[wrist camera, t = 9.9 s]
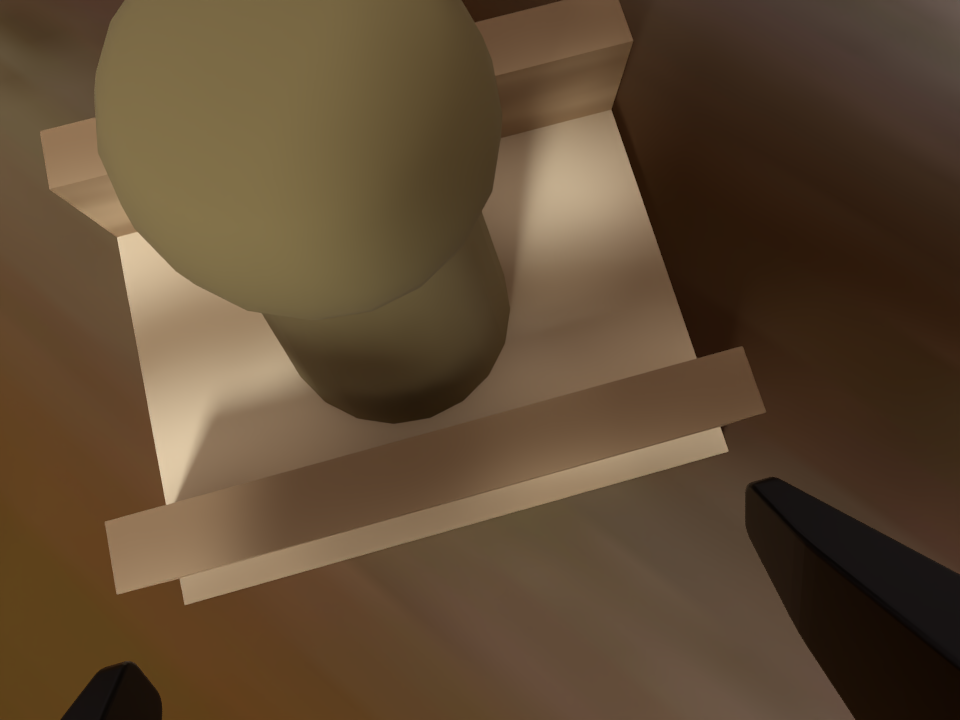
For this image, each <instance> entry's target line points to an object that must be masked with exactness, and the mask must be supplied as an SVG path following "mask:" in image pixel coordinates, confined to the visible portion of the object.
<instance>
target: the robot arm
mask: <svg viewBox="0 0 960 720" xmlns="http://www.w3.org/2000/svg"><path fill="white" fill-rule="evenodd" d="M745 524H746V529H747V533H748V535H749V538H750V540H751V542H752V544H753V546H754V548H755V550H756V552H757V553H758V555H759V557H760V559H761V561H762V563H763V565H764V567H765V569H766V571H767V573H768V575H769V577H770V579H771V581H772V583H773V585H774V587H775V588H776V590H777V592H778V594H779V596H780V598H781V600H782V602H783V604H784V606H785V608H786V610H787V612H788V614H789V616H790V618H791V619H792V621H793V623H794V625H795V627H796V629H797V630H798V632H799V634H800V635H801V637H802V639H803V640H804V642H805V644H806V645H807V647H808V648H809V650H810V651H811V653H812V654H813V656H814V657H815V659H816V660H817V662H818V663H819V665H820V666H821V668H822V670H823V671H824V673H825V674H826V676H827V677H828V679H829V680H830V682H831V683H832V685H833V686H834V688H835V689H836V691H837V692H838V694H839V695H840V697H841V698H842V700H843V701H844V703H845V704H846V706H847V707H848V709H849V710H850V712H851V714H852V715H853V717H854V718H855V720H960V574H958V573H956V572H954V571H952V570H950V569H948V568H946V567H945V566H943V565H941V564H939V563H937V562H935V561H933V560H931V559H930V558H928V557H926V556H924V555H922V554H920V553H918V552H916V551H914V550H913V549H911V548H909V547H907V546H905V545H903V544H901V543H899V542H898V541H896V540H894V539H892V538H890V537H888V536H886V535H884V534H882V533H881V532H879V531H877V530H875V529H873V528H871V527H869V526H867V525H866V524H864V523H862V522H860V521H858V520H856V519H854V518H852V517H850V516H849V515H847V514H845V513H843V512H841V511H839V510H837V509H835V508H834V507H832V506H830V505H828V504H826V503H824V502H822V501H820V500H818V499H817V498H815V497H813V496H811V495H809V494H807V493H805V492H803V491H802V490H800V489H798V488H796V487H794V486H792V485H790V484H788V483H787V482H785V481H783V480H781V479H779V478H775V477H769V478H765V479H762V480H758V481H755V482H751V483H749V484H748V485H747V487H746V492H745ZM61 720H162V702H161V698H160V695H159V693H158V691H157V690H156V689H155V687H154V686H153V685H152V684H151V682H150V681H149V680H148V678H147V677H146V676H145V675H144V673H143V672H142V671H141V670H140V668H139V667H138V666H137V665H136V664H135V663H133V662H131V661H125V662H122V663H118V664H115V665H111V666H108V667H105V668H103V669H101V670H100V671H98V672H97V673H96V675H95V676H94V677H93V678H92V680H91V681H90V682H89V683H88V685H87V686H86V687H85V689H84V690H83V691H82V692H81V694H80V695H79V696H78V698H77V699H76V700H75V701H74V703H73V704H72V705H71V707H70V708H69V709H68V711H67V712H66V713H65V714H64V716H63V717H62V718H61Z"/></svg>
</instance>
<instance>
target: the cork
mask: <svg viewBox="0 0 960 720" xmlns="http://www.w3.org/2000/svg"><path fill="white" fill-rule="evenodd" d="M94 101H95V117H96V133H97V149H98V154H99V156H100V158H101V161H102V163H103V165H104V167H105V170H106V172H107V174H108V176H109V179H110V181H111V183H112V186H113V188H114V190H115V192H116V195H117V197H118V199H119V201H120V204H121V206H122V207H123V209H124V211H125V213H126V215H127V216H128V218H129V220H130V222H131V224H132V226H133V227H134V229H135V230H136V231H137V232H138V233H139V234H140V235H141V236H142V237H143V238H144V239H145V240H146V241H147V242H148V243H149V244H150V245H151V246H152V247H153V248H154V249H155V250H156V252H157V253H158V254H159V255H160V256H161V257H162V258H163V259H164V260H165V261H166V262H167V263H168V264H169V265H170V266H171V267H172V268H173V269H174V270H175V271H176V272H177V273H179V274H180V275H182V276H183V277H185V278H186V279H188V280H189V281H190V282H192V283H193V284H195V285H197V286H199V287H201V288H203V289H205V290H207V291H209V292H211V293H213V294H215V295H217V296H219V297H221V298H223V299H225V300H227V301H229V302H231V303H233V304H235V305H237V306H239V307H241V308H243V309H245V310H247V311H252V312H258V313H262V315H263V316H264V318H265V320H266V321H267V323H268V325H269V326H270V328H271V330H272V331H273V333H274V334H275V336H276V338H277V339H278V341H279V343H280V344H281V346H282V347H283V349H284V351H285V352H286V354H287V356H288V357H289V359H290V361H291V362H292V364H293V365H294V367H295V369H296V370H297V372H298V374H299V375H300V377H301V378H302V379H303V380H304V381H305V382H306V383H307V384H308V385H309V386H310V387H311V388H312V389H313V390H314V391H315V392H316V393H317V394H318V395H319V396H320V397H321V398H322V399H323V400H324V401H325V402H326V403H328V404H330V405H332V406H334V407H336V408H338V409H340V410H342V411H344V412H346V413H348V414H350V415H352V416H354V417H355V418H358V419H364V420H371V421H377V422H384V423H391V424H397V423H403V422H409V421H415V420H421V419H427V418H431V417H433V416H435V415H437V414H439V413H441V412H443V411H445V410H447V409H449V408H451V407H453V406H454V405H456V404H458V403H460V402H462V401H464V400H465V399H466V398H467V397H468V396H469V395H470V394H471V393H472V392H473V391H474V390H475V389H476V388H477V387H478V386H479V385H480V384H481V383H482V382H483V381H484V380H485V379H486V378H487V377H488V376H489V374H490V372H491V370H492V368H493V366H494V364H495V362H496V360H497V358H498V356H499V354H500V352H501V350H502V348H503V346H504V344H505V341H506V334H507V327H508V320H509V314H510V305H509V299H508V294H507V288H506V282H505V277H504V273H503V270H502V267H501V265H500V262H499V259H498V256H497V253H496V250H495V248H494V245H493V242H492V239H491V236H490V233H489V230H488V228H487V225H486V222H485V219H484V216H483V213H482V210H483V208H484V206H485V204H486V202H487V200H488V199H489V197H490V195H491V193H492V190H493V184H494V178H495V171H496V165H497V159H498V152H499V146H500V140H501V129H502V109H501V104H500V99H499V94H498V88H497V83H496V78H495V72H494V67H493V62H492V58H491V56H490V53H489V51H488V48H487V46H486V43H485V41H484V38H483V36H482V34H481V33H480V31H479V29H478V27H477V26H476V24H475V22H474V21H473V19H472V17H471V15H470V14H469V12H468V10H467V9H466V7H465V5H464V4H463V2H462V0H125V1H124V2H123V4H122V5H121V7H120V8H119V10H118V11H117V13H116V14H115V15H114V17H113V18H112V20H111V22H110V25H109V28H108V32H107V35H106V39H105V42H104V46H103V49H102V53H101V56H100V60H99V63H98V67H97V70H96V78H95V91H94Z"/></svg>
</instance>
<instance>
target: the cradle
mask: <svg viewBox="0 0 960 720" xmlns="http://www.w3.org/2000/svg"><path fill="white" fill-rule="evenodd" d="M475 24H476V26H477V27H478V29H479V31H480V33H481V34H482V36H483V38H484V41H485V43H486V46H487V48H488V51H489V53H490V56H491V58H492V62H493V67H494V72H495V78H496V83H497V88H498V94H499V99H500V104H501V109H502V129H501V140H500V146H499V152H498V159H497V165H496V171H495V178H494V184H493V190H492V193H491V195H490V197H489V199H488V200H487V202H486V204H485V206H484V208H483V210H482V213H483V216H484V219H485V222H486V225H487V228H488V230H489V233H490V236H491V239H492V242H493V245H494V248H495V250H496V253H497V256H498V259H499V262H500V265H501V267H502V270H503V273H504V277H505V282H506V288H507V294H508V299H509V305H510V314H509V320H508V327H507V334H506V341H505V344H504V346H503V348H502V350H501V352H500V354H499V356H498V358H497V360H496V362H495V364H494V366H493V368H492V370H491V372H490V374H489V376H488V377H487V378H486V379H485V380H484V381H483V382H482V383H481V384H480V385H479V386H478V387H477V388H476V389H475V390H474V391H473V392H472V393H471V394H470V395H469V396H468V397H467V398H466V399H465V400H464V401H462V402H460V403H458V404H456V405H454V406H453V407H451V408H449V409H447V410H445V411H443V412H441V413H439V414H437V415H435V416H433V417H431V418H427V419H421V420H415V421H409V422H403V423H397V424H391V423H384V422H377V421H371V420H364V419H358V418H355V417H354V416H352V415H350V414H348V413H346V412H344V411H342V410H340V409H338V408H336V407H334V406H332V405H330V404H328V403H326V402H325V401H324V400H323V399H322V398H321V397H320V396H319V395H318V394H317V393H316V392H315V391H314V390H313V389H312V388H311V387H310V386H309V385H308V384H307V383H306V382H305V381H304V380H303V379H302V378H301V377H300V375H299V374H298V372H297V370H296V369H295V367H294V365H293V364H292V362H291V361H290V359H289V357H288V356H287V354H286V352H285V351H284V349H283V347H282V346H281V344H280V343H279V341H278V339H277V338H276V336H275V334H274V333H273V331H272V330H271V328H270V326H269V325H268V323H267V321H266V320H265V318H264V316H263V315H262V313H258V312H252V311H247V310H245V309H243V308H241V307H239V306H237V305H235V304H233V303H231V302H229V301H227V300H225V299H223V298H221V297H219V296H217V295H215V294H213V293H211V292H209V291H207V290H205V289H203V288H201V287H199V286H197V285H195V284H193V283H192V282H190V281H189V280H188V279H186V278H185V277H183V276H182V275H180V274H179V273H177V272H176V271H175V270H174V269H173V268H172V267H171V266H170V265H169V264H168V263H167V262H166V261H165V260H164V259H163V258H162V257H161V256H160V255H159V254H158V253H157V252H156V250H155V249H154V248H153V247H152V246H151V245H150V244H149V243H148V242H147V241H146V240H145V239H144V238H143V237H142V236H141V235H140V234H139V233H138V232H137V231H136V230H135V229H134V227H133V226H132V224H131V222H130V220H129V218H128V216H127V215H126V213H125V211H124V209H123V207H122V206H121V204H120V201H119V199H118V197H117V195H116V192H115V190H114V188H113V186H112V183H111V181H110V179H109V176H108V174H107V172H106V170H105V167H104V165H103V163H102V161H101V158H100V156H99V154H98V149H97V133H96V117H95V118H91V119H87V120H83V121H79V122H75V123H71V124H67V125H63V126H59V127H55V128H51V129H47V130H43V131H40V135H41V141H42V147H43V153H44V159H45V165H46V171H47V177H48V183H49V189H50V190H51V191H53V192H54V193H56V194H57V195H58V196H60V197H61V198H63V199H64V200H65V201H67V202H68V203H70V204H71V205H72V206H74V207H75V208H77V209H78V210H79V211H81V212H82V213H84V214H85V215H87V216H88V217H89V218H91V219H92V220H94V221H95V222H96V223H98V224H99V225H101V226H102V227H103V228H105V229H106V230H108V231H109V232H110V233H112V234H113V235H115V236H116V237H117V240H118V245H119V251H120V256H121V261H122V267H123V272H124V278H125V283H126V289H127V294H128V299H129V305H130V310H131V316H132V321H133V327H134V332H135V338H136V343H137V348H138V354H139V359H140V365H141V370H142V376H143V381H144V387H145V392H146V397H147V403H148V408H149V414H150V419H151V425H152V430H153V436H154V441H155V446H156V452H157V457H158V463H159V468H160V474H161V479H162V485H163V490H164V495H165V501H166V505H164V506H161V507H157V508H153V509H150V510H146V511H142V512H139V513H135V514H132V515H128V516H124V517H121V518H117V519H113V520H110V521H106V522H105V526H106V532H107V538H108V544H109V550H110V556H111V563H112V569H113V575H114V581H115V587H116V593H117V594H121V593H125V592H129V591H133V590H137V589H141V588H144V587H148V586H152V585H156V584H160V583H164V582H168V581H172V580H176V579H180V583H181V588H182V593H183V599H184V604H185V605H187V604H191V603H194V602H198V601H201V600H205V599H208V598H212V597H215V596H219V595H222V594H226V593H230V592H233V591H237V590H240V589H244V588H247V587H251V586H254V585H258V584H261V583H265V582H268V581H272V580H276V579H279V578H283V577H286V576H290V575H293V574H297V573H300V572H304V571H307V570H311V569H315V568H318V567H322V566H325V565H329V564H332V563H336V562H339V561H343V560H346V559H350V558H353V557H357V556H361V555H364V554H368V553H371V552H375V551H378V550H382V549H385V548H389V547H392V546H396V545H399V544H403V543H407V542H410V541H414V540H417V539H421V538H424V537H428V536H431V535H435V534H438V533H442V532H445V531H449V530H453V529H456V528H460V527H463V526H467V525H470V524H474V523H477V522H481V521H484V520H488V519H491V518H495V517H499V516H502V515H506V514H509V513H513V512H516V511H520V510H523V509H527V508H530V507H534V506H537V505H541V504H545V503H548V502H552V501H555V500H559V499H562V498H566V497H569V496H573V495H576V494H580V493H583V492H587V491H591V490H594V489H598V488H601V487H605V486H608V485H612V484H615V483H619V482H622V481H626V480H630V479H633V478H637V477H640V476H644V475H647V474H651V473H654V472H658V471H661V470H665V469H668V468H672V467H676V466H679V465H683V464H686V463H690V462H693V461H697V460H700V459H704V458H707V457H711V456H714V455H718V454H722V453H725V452H729V451H728V448H727V445H726V442H725V439H724V436H723V433H722V430H721V426H724V425H727V424H730V423H734V422H737V421H740V420H743V419H746V418H750V417H753V416H756V415H759V414H762V413H766V410H765V407H764V404H763V402H762V399H761V396H760V393H759V390H758V388H757V385H756V382H755V379H754V377H753V374H752V371H751V368H750V365H749V363H748V360H747V357H746V354H745V351H744V349H743V346H740V347H737V348H733V349H730V350H726V351H722V352H719V353H715V354H711V355H708V356H704V357H701V358H696V355H695V352H694V349H693V346H692V343H691V340H690V337H689V334H688V331H687V328H686V326H685V323H684V320H683V317H682V314H681V311H680V308H679V305H678V302H677V299H676V296H675V294H674V291H673V288H672V285H671V282H670V279H669V276H668V273H667V270H666V267H665V264H664V262H663V259H662V256H661V253H660V250H659V247H658V244H657V241H656V238H655V235H654V232H653V229H652V227H651V224H650V221H649V218H648V215H647V212H646V209H645V206H644V203H643V200H642V197H641V195H640V192H639V189H638V186H637V183H636V180H635V177H634V174H633V171H632V168H631V165H630V163H629V160H628V157H627V154H626V151H625V148H624V145H623V142H622V139H621V136H620V133H619V131H618V128H617V125H616V122H615V119H614V116H613V113H612V110H611V109H612V106H613V103H614V100H615V97H616V93H617V90H618V87H619V84H620V81H621V78H622V75H623V72H624V68H625V65H626V62H627V59H628V56H629V53H630V50H631V47H632V43H633V38H632V36H631V33H630V30H629V27H628V24H627V22H626V19H625V16H624V13H623V11H622V8H621V5H620V2H619V0H562V1H558V2H554V3H550V4H546V5H542V6H538V7H534V8H530V9H526V10H522V11H518V12H514V13H510V14H506V15H502V16H499V17H495V18H491V19H487V20H483V21H479V22H475Z"/></svg>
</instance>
